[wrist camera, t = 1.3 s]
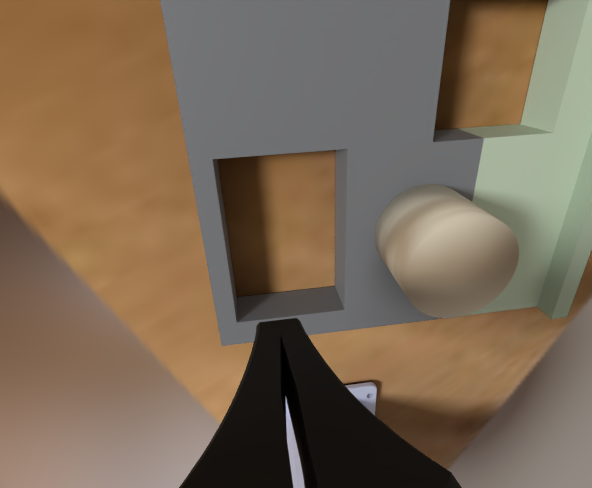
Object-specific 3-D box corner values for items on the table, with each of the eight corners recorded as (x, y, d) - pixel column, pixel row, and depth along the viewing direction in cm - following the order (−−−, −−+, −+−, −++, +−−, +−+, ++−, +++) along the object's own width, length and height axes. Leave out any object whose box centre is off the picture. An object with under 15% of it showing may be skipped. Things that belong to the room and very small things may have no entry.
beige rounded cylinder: (460, 266, 21) (504, 311, 17) (372, 276, 20) (399, 324, 17) (476, 179, 19) (532, 210, 15) (377, 188, 18) (410, 222, 15)
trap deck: (525, 283, 25) (566, 317, 22) (223, 318, 23) (221, 361, 20) (614, -28, 17) (698, -44, 14) (167, -12, 15) (149, -28, 12)
